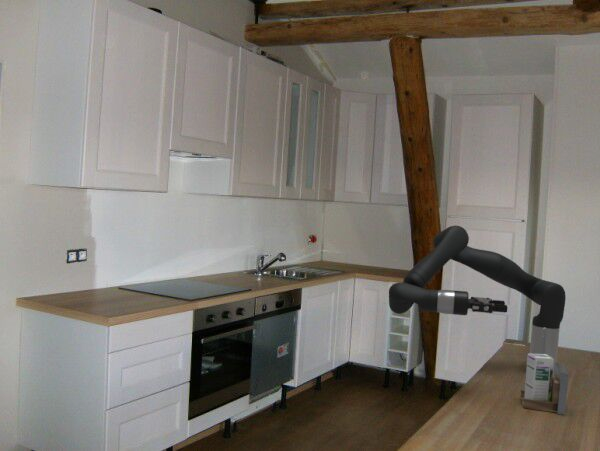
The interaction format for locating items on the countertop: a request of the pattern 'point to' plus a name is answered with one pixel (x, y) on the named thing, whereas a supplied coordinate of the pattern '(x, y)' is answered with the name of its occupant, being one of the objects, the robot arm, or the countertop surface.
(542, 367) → the syrup box
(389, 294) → the robot arm
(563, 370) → the plate
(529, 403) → the cradle
